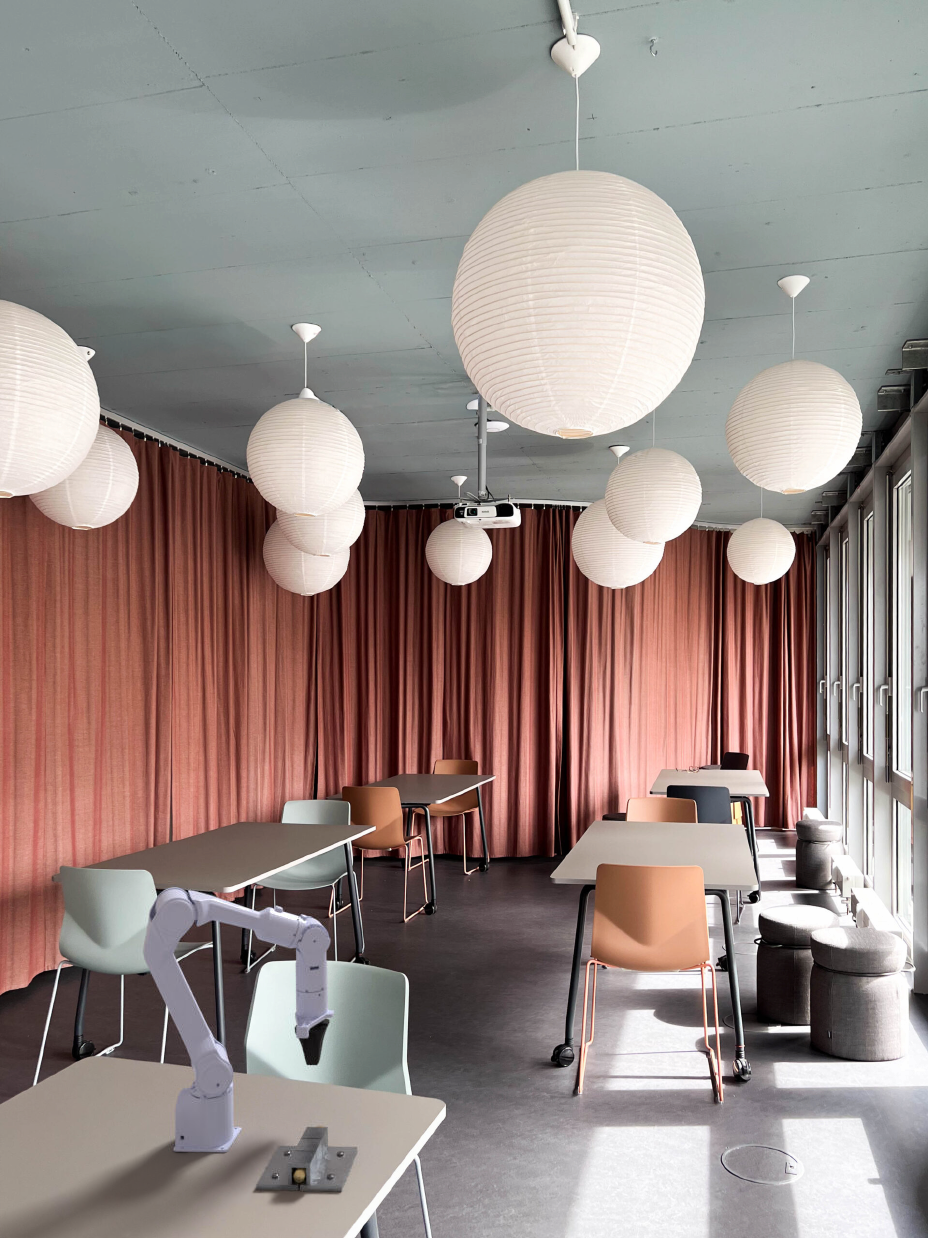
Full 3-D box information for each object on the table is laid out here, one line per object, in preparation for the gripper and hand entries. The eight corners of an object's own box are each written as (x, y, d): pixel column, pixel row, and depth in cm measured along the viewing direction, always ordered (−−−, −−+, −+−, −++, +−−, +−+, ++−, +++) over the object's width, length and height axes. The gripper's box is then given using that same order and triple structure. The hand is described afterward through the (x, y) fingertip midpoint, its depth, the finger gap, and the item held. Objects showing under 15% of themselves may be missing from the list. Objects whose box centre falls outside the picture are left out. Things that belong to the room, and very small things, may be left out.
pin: (291, 1185, 144) (290, 1168, 144) (312, 1141, 158) (312, 1125, 158) (307, 1185, 144) (307, 1168, 144) (327, 1141, 158) (327, 1126, 158)
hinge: (256, 1189, 145) (256, 1163, 145) (278, 1150, 156) (278, 1126, 157) (341, 1191, 143) (341, 1165, 144) (357, 1152, 155) (356, 1127, 156)
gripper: (323, 1001, 161) (324, 1081, 160) (341, 975, 175) (343, 1048, 175) (284, 1001, 162) (285, 1081, 161) (305, 974, 176) (306, 1047, 175)
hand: (312, 1064), depth 168 cm, fingers closed
